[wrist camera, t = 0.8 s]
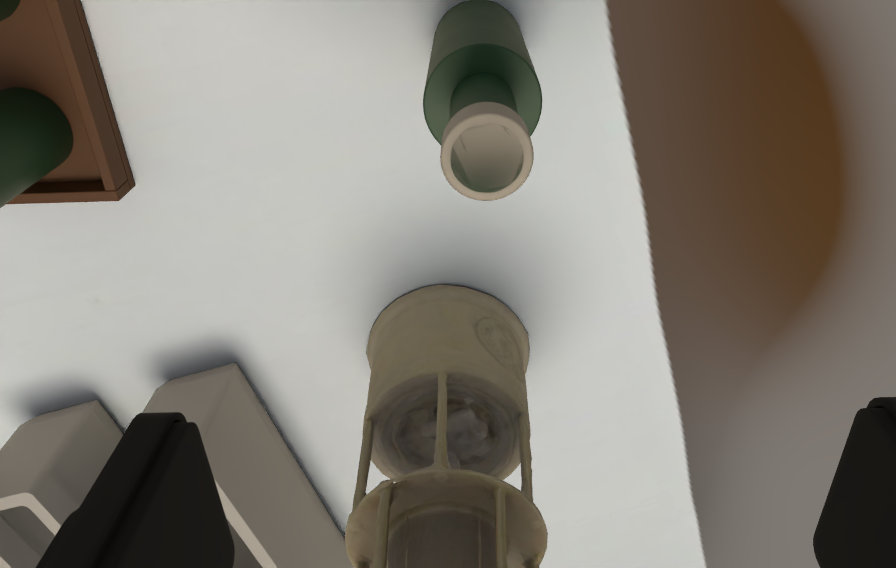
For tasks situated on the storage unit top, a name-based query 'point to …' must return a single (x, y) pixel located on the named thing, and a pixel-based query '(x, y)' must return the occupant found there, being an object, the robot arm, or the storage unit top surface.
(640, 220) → the storage unit top surface
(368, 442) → the lamp
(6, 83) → the tray
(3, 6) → the bottle mid
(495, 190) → the bottle
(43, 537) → the grey compartment organizer
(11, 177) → the bottle end
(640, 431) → the storage unit top surface
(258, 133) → the storage unit top surface
